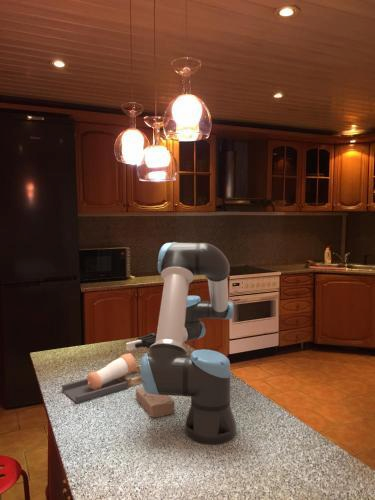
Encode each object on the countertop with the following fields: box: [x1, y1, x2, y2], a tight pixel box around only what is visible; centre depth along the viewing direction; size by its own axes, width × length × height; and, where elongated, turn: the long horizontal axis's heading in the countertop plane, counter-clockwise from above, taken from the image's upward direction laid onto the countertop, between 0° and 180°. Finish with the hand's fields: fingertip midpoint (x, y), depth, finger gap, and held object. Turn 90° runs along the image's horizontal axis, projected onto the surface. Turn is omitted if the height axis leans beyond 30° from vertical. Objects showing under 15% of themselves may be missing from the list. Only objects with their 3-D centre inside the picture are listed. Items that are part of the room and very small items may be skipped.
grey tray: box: [61, 378, 129, 405], centre depth 147 cm, size 20×13×2 cm, turn 129°
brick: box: [135, 385, 176, 418], centre depth 135 cm, size 17×8×5 cm, turn 26°
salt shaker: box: [86, 352, 138, 390], centre depth 150 cm, size 7×7×19 cm
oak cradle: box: [116, 365, 142, 388], centre depth 157 cm, size 12×11×3 cm
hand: (126, 346), depth 155 cm, fingers closed
